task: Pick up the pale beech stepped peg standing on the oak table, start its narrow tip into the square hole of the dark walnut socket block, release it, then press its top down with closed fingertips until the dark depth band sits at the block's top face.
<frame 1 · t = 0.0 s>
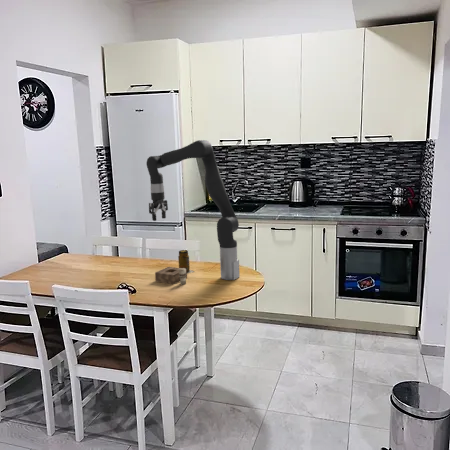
hand: (159, 219, 247), 29 cm above the table, fingers open, 8 cm apart
socket block: (171, 279, 230), on the table
peg: (183, 284, 222), on the table
condiment: (185, 272, 244), on the table
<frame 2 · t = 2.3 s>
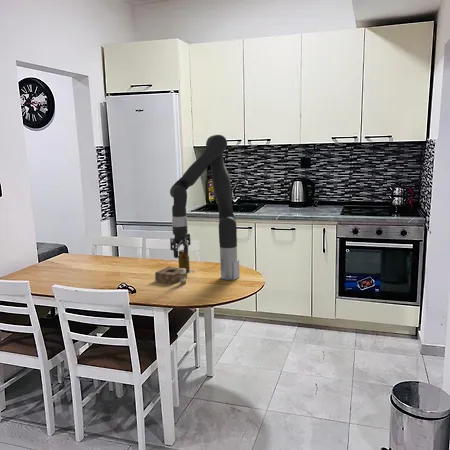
hand: (181, 255, 220), 15 cm above the table, fingers open, 8 cm apart
nothing on the table moved.
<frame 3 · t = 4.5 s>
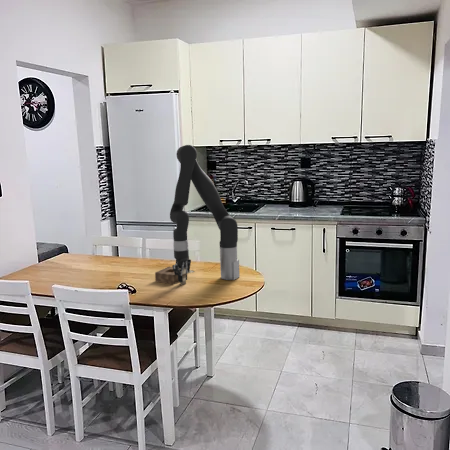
hand: (182, 280, 222), 2 cm above the table, fingers closed on peg, 3 cm apart
peg: (183, 283, 222), on the table, touching gripper
everything else where it was.
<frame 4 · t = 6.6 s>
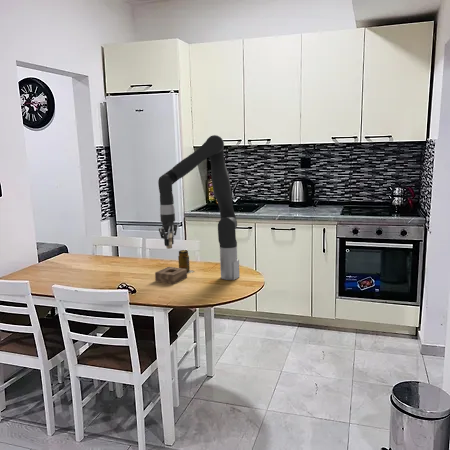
hand: (169, 244, 226), 19 cm above the table, fingers closed on peg, 3 cm apart
peg: (169, 248, 227), point 18 cm above the table, touching gripper
everything else where it was.
when the fingers open (5 cm above the table, at t = 8.9 s): peg drops 3 cm, resting in socket block.
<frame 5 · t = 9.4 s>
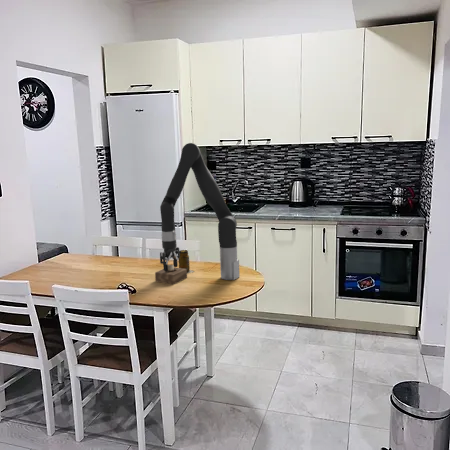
hand: (170, 268, 229), 6 cm above the table, fingers open, 8 cm apart
peg: (171, 279, 230), resting in socket block
everything else where it was.
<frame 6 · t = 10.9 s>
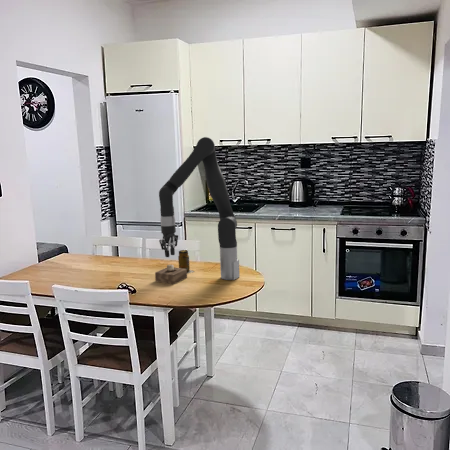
hand: (170, 255, 228), 13 cm above the table, fingers open, 4 cm apart
nothing on the table moved.
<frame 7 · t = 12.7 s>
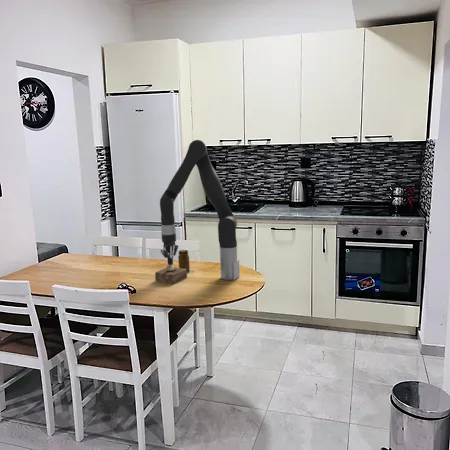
hand: (170, 264, 229), 8 cm above the table, fingers closed
nothing on the table moved.
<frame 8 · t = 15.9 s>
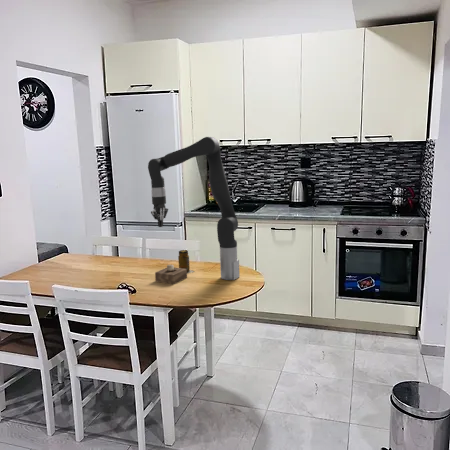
hand: (160, 226, 237), 27 cm above the table, fingers closed
nothing on the table moved.
at the end: peg 0.2 cm off-centre on the socket block, point 0.0 cm above the socket block's base; peg tilted 0°; the gripper is holding nothing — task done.
